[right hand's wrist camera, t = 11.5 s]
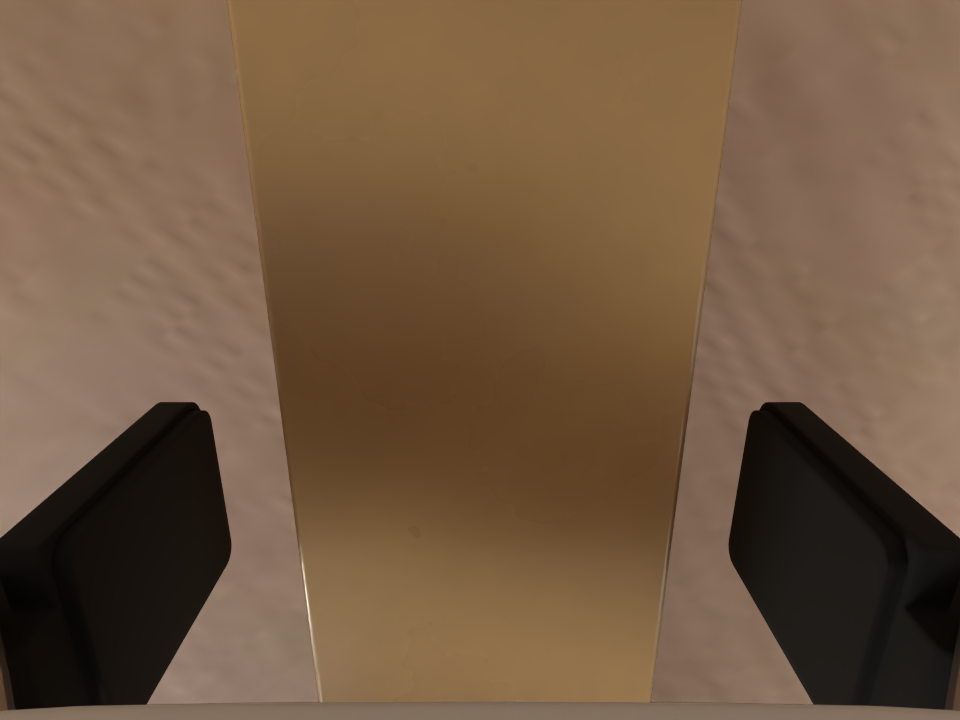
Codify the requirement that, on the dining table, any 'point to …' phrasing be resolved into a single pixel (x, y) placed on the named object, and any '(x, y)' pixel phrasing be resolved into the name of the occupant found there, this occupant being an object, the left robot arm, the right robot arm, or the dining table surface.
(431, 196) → the bar
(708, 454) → the dining table surface
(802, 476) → the right robot arm
